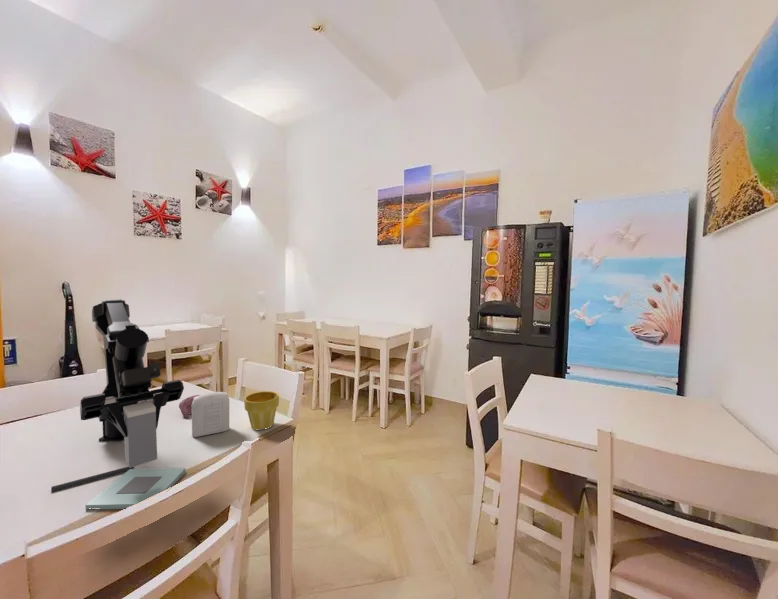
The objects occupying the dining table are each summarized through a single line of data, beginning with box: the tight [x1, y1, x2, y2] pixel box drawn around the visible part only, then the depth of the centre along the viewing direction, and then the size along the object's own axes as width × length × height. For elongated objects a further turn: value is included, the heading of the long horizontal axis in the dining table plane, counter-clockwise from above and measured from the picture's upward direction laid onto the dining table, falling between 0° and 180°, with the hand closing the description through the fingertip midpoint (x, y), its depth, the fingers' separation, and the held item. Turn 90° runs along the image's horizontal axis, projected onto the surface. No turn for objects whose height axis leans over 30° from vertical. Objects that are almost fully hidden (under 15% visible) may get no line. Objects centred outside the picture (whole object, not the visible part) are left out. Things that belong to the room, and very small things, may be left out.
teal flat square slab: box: [85, 467, 186, 510], centre depth 76 cm, size 13×13×1 cm
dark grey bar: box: [50, 465, 135, 493], centre depth 80 cm, size 15×1×1 cm, turn 128°
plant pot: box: [243, 390, 280, 430], centre depth 109 cm, size 10×10×10 cm
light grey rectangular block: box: [123, 401, 158, 468], centre depth 76 cm, size 5×5×12 cm
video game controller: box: [178, 394, 200, 419], centre depth 119 cm, size 10×5×7 cm, turn 145°
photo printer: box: [191, 391, 230, 438], centre depth 104 cm, size 10×4×12 cm, turn 123°
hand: (141, 432), depth 75 cm, fingers closed on light grey rectangular block, 5 cm apart
